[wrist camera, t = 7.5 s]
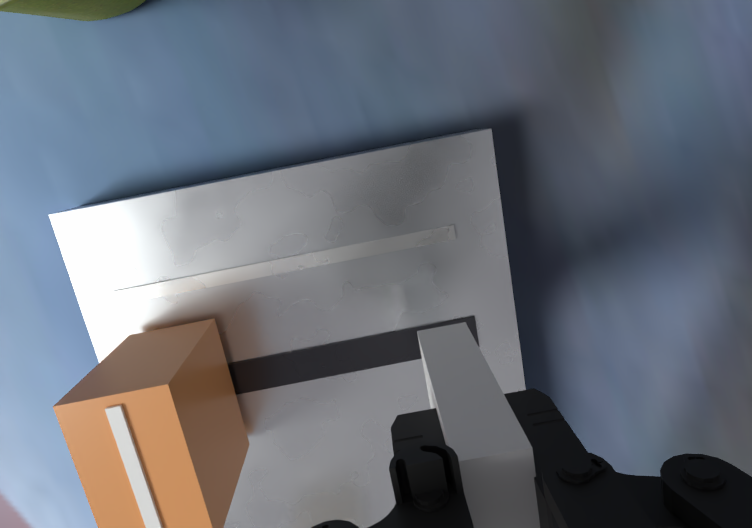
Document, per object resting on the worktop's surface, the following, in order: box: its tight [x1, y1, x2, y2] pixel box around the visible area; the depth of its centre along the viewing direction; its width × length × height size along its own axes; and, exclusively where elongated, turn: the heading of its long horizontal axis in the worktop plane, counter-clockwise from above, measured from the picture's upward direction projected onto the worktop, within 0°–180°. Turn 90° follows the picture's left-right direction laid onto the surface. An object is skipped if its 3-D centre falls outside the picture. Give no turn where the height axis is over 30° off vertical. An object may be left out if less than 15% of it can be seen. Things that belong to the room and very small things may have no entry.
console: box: [49, 129, 526, 528], centre depth 22 cm, size 15×24×2 cm, turn 11°
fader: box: [53, 318, 250, 528], centre depth 17 cm, size 3×5×5 cm, turn 11°
